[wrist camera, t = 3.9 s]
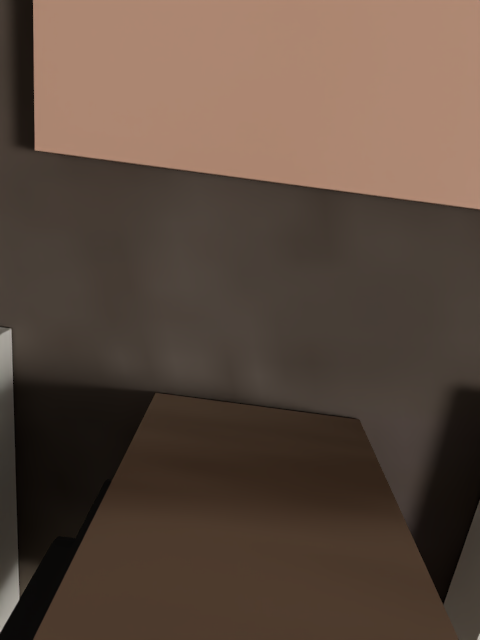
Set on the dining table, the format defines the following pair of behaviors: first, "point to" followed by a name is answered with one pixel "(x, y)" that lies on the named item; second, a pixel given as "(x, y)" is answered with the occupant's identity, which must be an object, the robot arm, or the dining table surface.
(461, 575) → the shelf bay
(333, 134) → the terracotta tile
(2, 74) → the dining table surface
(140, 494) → the walnut block
